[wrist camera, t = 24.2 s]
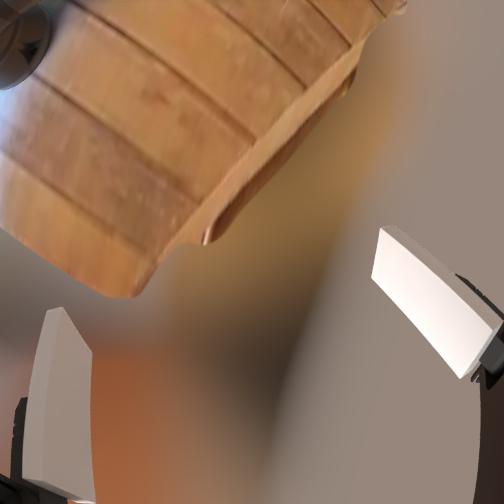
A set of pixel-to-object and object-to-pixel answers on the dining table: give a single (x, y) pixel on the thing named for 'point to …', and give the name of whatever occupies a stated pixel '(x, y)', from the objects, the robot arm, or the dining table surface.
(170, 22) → the dining table surface
